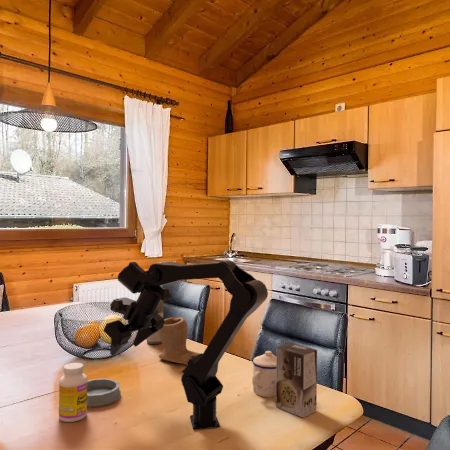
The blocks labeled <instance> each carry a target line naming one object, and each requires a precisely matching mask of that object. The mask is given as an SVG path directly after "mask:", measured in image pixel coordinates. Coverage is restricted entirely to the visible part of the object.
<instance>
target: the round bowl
mask: <svg viewBox="0 0 450 450" xmlns="http://www.w3.org/2000/svg"><path fill="white" fill-rule="evenodd" d="M121 396H122V395H121V390H120V382H119V381H117V380H116V379H112V378H107V377H106V378H104V377H103V378H102V377H101V378H93V379H92V378H91V379H89V380H88V379H87V408H100V407H101V408H102V407H105V406H109V405H112V404H114V403H115V402H117V401H119V400H120V398H121Z"/></svg>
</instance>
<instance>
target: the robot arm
mask: <svg viewBox="0 0 450 450" xmlns="http://www.w3.org/2000/svg"><path fill="white" fill-rule="evenodd" d="M203 279H219V280H220V281H221V282H222V284H223V286H224V288H225V290H226V291H227V292H228V293H229V294H230V296H231V299H230V301H229V309H228V312H227V314H226V315H225V318H224V319H223V321H222V322H221V323H220V325H219V327H218V328H217V331H216V332H215V334H214V335H213V337H212V338H211V340H210V342H209V343H208V345H207V346H206V348H205V349H204V351H203V352H201V354H199V355H197V356H195V357H193V358H192V359H190V360H189V361H188V363H187V364H186V366H185V368H184V369H183V370H182V371H181V374H182V375H181V378H180V381H181V384H182V386H183V390H184V394H185V397H186V400H187V401H186V402H188V403H189V404H192V414H191V415H189V419H190V424H191V427H192V429H193V430H194V431H195V430H205V429H215V428H216V429H217V428H221V427H220V426H221V425H220V422H219V420H218V419H219V418H218V417H217V396H219V395H220V394H222V391H223V390H224V389H223V388H224V385H223V383H221V381H220V379H218V377H217V374H218V372H219V371H218V370H219V369H218V368H219V363H220V361H221V359H222V358H223V356H224V354H225V353H226V351H227V349H228V348H229V347H230V345H231V344H232V342H233V341H234V339H235V337H236V336H237V334H238V332H239V331H240V329H241V327H242V326H243V325H244V323H245V322H246V320H247V318H249V316H251V315H252V314H253V313H254V312H255V311H256V310H258V309H259V307H261V305H262V304H263V303H264V302H266V300H267V298H268V295H269V292H268V287H266V284H265V283H264V282H263V281H261V280H260V279H259V280H258V279H256V278H255V276H253V275H252V274H251V273H248V272H247V271H245V270H244V269H243V268H241V267H239V266H238V264H237V263H235V261H232V260H229V259H228V260H223V261H217V262H216V261H214V262H202V263H201V262H200V263H190V264H186V263H180V262H175V261H163V262H157V263H152V264H151V265H150V266H149V267H148V270H144V269H143V268H142V267H141V266H140V265H139V264H138V263H137V262H136V261H131V262H129V263H128V265H127V266H125V267H124V268H123V269H121V271H120V272H118V275H117V281H118V282H119V283H120V284H121V285H122V286H124V287H125V289H127V290H128V291H129V292H130V293H132V294H137V293H138V297H137V299H136V300H134V299H131V298H128V297H120V298H114V299H113V300H112V302H111V303H110V307H109V308H110V311H112V312H113V313H118V314H120V315H122V319H124V321H127V324H124V323H123V322H122V320H120V319H117V320H113V321H110V322H106V324H105V326H104V327H103V332H104V333H105V334H106V335H107V336H108V337H109V339H110V352H109V353H110V355H111V356H112V357H114V356H116V355H117V354H118V353H119V352H120V351H121V350H122V349H123V348H124V347H125V346H126V345H127V344H129V340H130V339H131V337H132V333H134V332H137V333H136V335H135V337H134V340H133V346H134V347H135V348H136V347H138V346H140V344H142V343H143V342H144V341H147V340H146V339H147V338H149V337H150V336H151V335H153V334H154V333H156V332H157V331H158V330H159V329H162V327H163V326H164V324H165V322H164V319H165V318H164V317H163V318H162V317H161V316H160V315H159V314H158V311H157V310H156V309H157V307H158V306H159V304H160V302H161V300H163V301H164V302H165V301H167V300H170V299H172V295H171V293H170V288H164V287H163V285H164V286H165V285H169V284H173V283H177V282H180V281H185V280H186V281H187V280H203ZM139 293H140V294H139Z"/></svg>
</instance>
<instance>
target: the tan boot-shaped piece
mask: <svg viewBox="0 0 450 450" xmlns="http://www.w3.org/2000/svg"><path fill="white" fill-rule="evenodd" d="M164 322H165V324H164V326H163V327H162V329H159V330H158V333H159V336H160V339H161V341H162V342H161V344H162V346H163V351H162V352H160V353H159V355H158V358H159V359H161V360H164V361H166V362H172V363H176V364H177V363H178V364H181V365H187V363H188V361H189V360H190V359H192V358H193V357H195V356H197V355H199V354H201V353H202V352H201V353H200V352H196V351H193V350H188V349H187V339H188V323H187V321H186V319H185V318H183V317H181V316H179V317H169V318H164Z"/></svg>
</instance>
